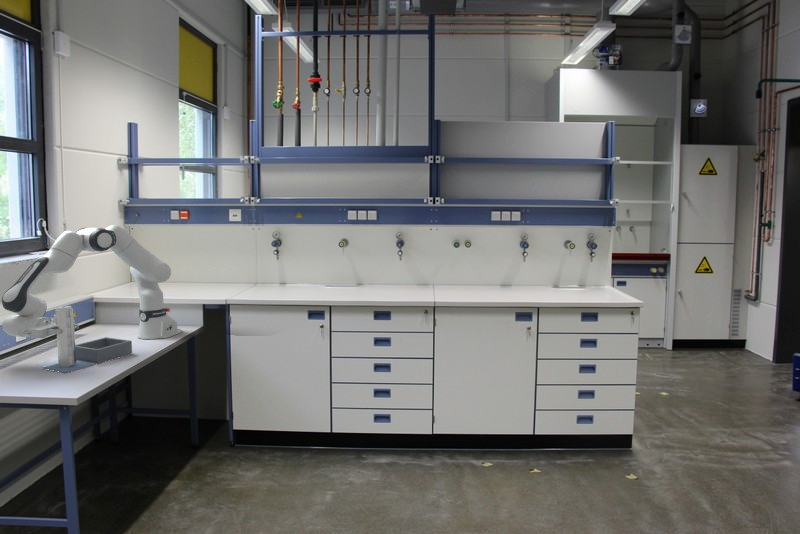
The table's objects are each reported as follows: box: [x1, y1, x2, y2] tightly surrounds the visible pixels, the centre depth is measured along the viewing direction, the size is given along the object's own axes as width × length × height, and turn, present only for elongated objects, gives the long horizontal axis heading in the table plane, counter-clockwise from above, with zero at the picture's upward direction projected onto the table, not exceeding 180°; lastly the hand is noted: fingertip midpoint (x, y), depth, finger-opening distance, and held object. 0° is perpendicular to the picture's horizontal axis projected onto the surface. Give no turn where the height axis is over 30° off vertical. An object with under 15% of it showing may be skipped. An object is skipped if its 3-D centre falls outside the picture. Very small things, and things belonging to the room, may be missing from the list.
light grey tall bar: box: [54, 305, 76, 368], centre depth 246 cm, size 6×6×25 cm
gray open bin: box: [75, 336, 133, 365], centre depth 264 cm, size 18×16×6 cm
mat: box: [42, 360, 97, 374], centre depth 248 cm, size 14×14×1 cm
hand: (69, 329), depth 246 cm, fingers open, 8 cm apart
